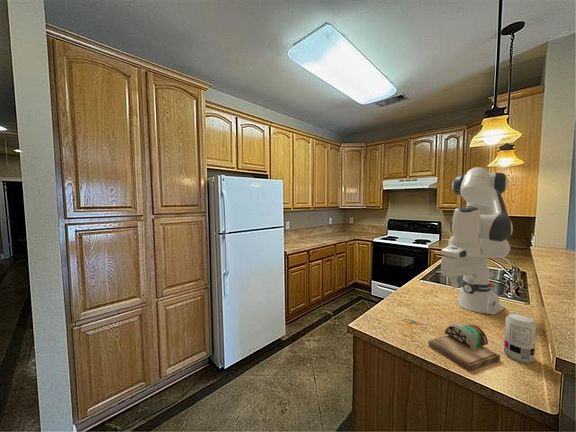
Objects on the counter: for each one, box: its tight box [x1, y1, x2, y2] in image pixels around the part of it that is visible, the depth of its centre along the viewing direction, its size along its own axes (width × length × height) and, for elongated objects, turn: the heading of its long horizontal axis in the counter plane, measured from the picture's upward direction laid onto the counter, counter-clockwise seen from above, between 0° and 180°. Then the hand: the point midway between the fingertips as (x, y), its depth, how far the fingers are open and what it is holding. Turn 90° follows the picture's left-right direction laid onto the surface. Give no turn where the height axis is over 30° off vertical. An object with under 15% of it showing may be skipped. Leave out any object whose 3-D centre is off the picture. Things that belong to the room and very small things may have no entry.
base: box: [428, 334, 501, 372], centre depth 95 cm, size 16×16×2 cm
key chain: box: [402, 318, 430, 333], centre depth 116 cm, size 13×7×1 cm, turn 45°
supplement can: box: [503, 312, 537, 364], centre depth 92 cm, size 8×8×15 cm
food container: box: [444, 323, 489, 350], centre depth 100 cm, size 12×6×10 cm
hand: (463, 285), depth 94 cm, fingers open, 8 cm apart
